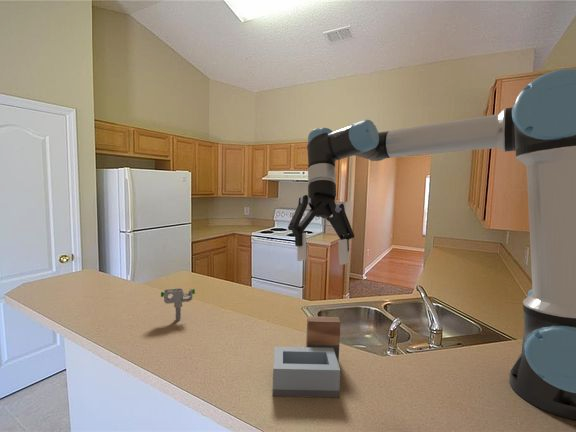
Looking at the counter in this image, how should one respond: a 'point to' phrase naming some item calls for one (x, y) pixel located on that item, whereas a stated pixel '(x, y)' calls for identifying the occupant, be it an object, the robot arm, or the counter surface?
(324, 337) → the brown wood block
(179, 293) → the mechanical component
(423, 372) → the counter surface
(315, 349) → the frame block
